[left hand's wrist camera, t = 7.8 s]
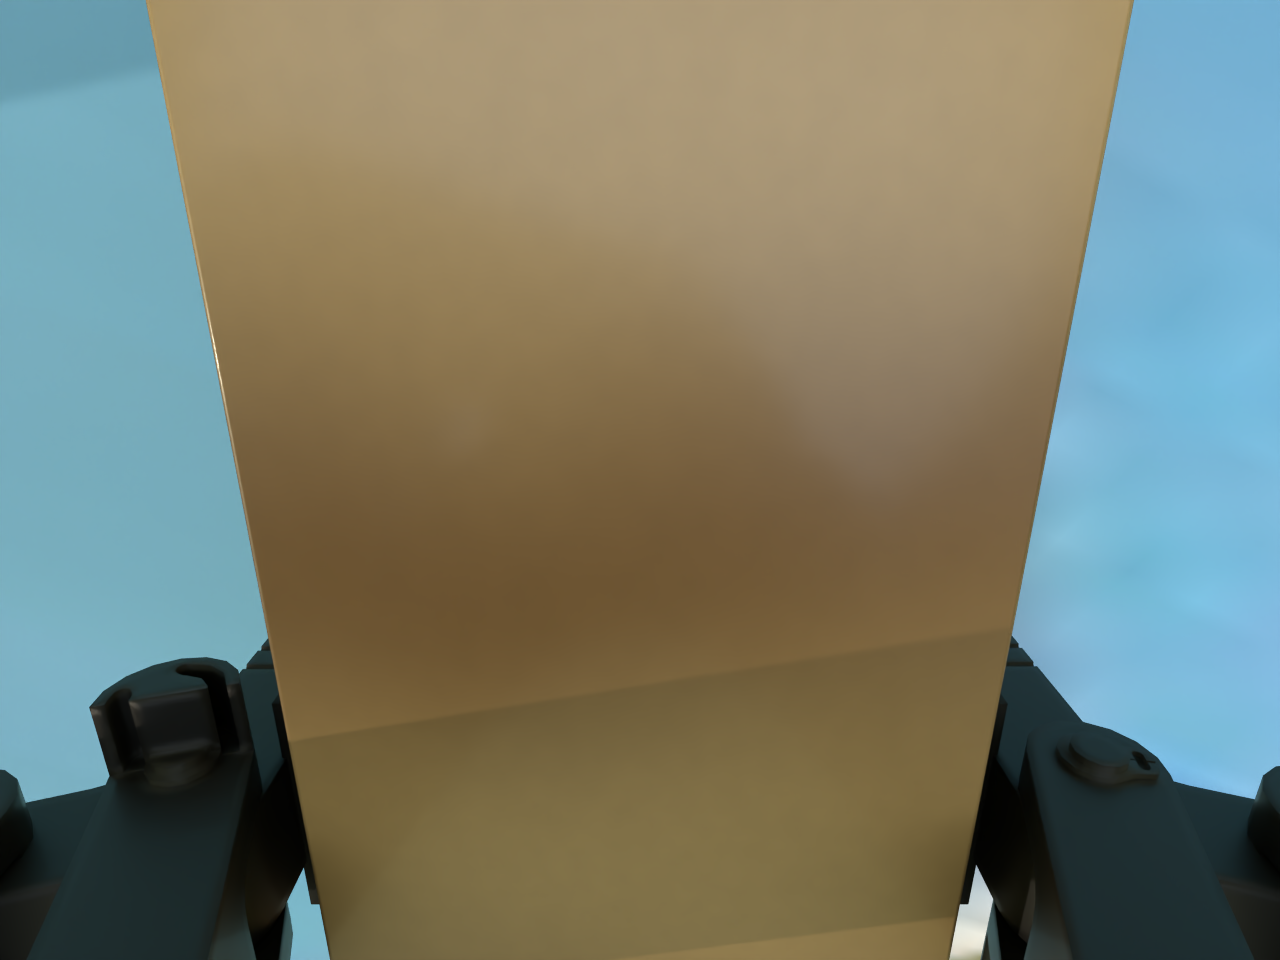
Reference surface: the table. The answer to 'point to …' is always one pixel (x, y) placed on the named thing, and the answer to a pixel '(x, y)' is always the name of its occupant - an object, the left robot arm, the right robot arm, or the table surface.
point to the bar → (639, 443)
